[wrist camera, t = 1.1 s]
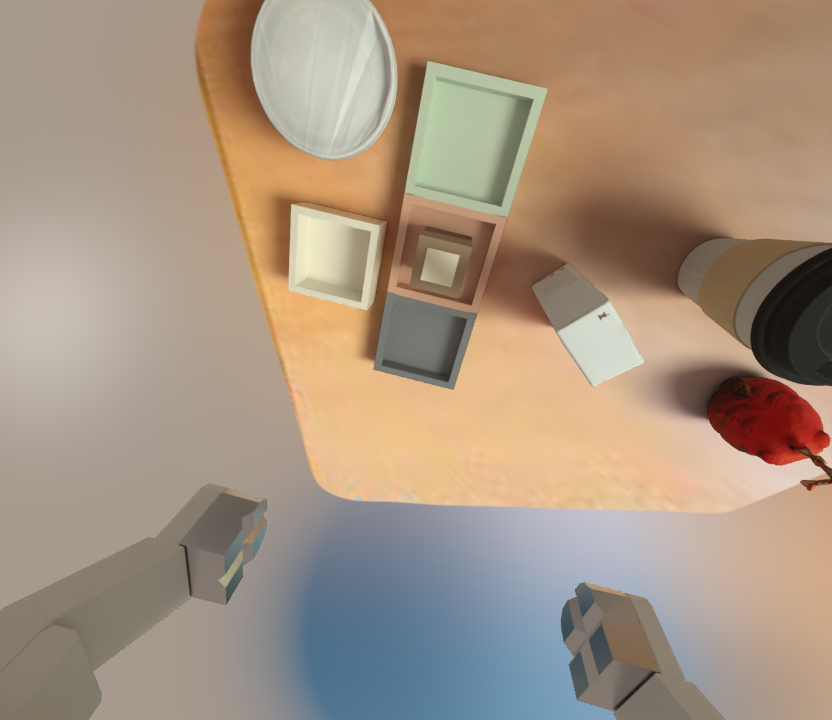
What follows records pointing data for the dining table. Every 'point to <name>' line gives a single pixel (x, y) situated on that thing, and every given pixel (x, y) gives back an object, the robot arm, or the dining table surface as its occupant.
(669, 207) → the dining table surface
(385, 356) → the tray far charcoal
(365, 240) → the cream square open box
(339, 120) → the ramekin
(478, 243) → the tray middle terracotta
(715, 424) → the red clay folk toy
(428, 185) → the tray near sage
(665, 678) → the robot arm
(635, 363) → the skincare box
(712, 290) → the coffee cup
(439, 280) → the tan block
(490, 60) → the dining table surface
